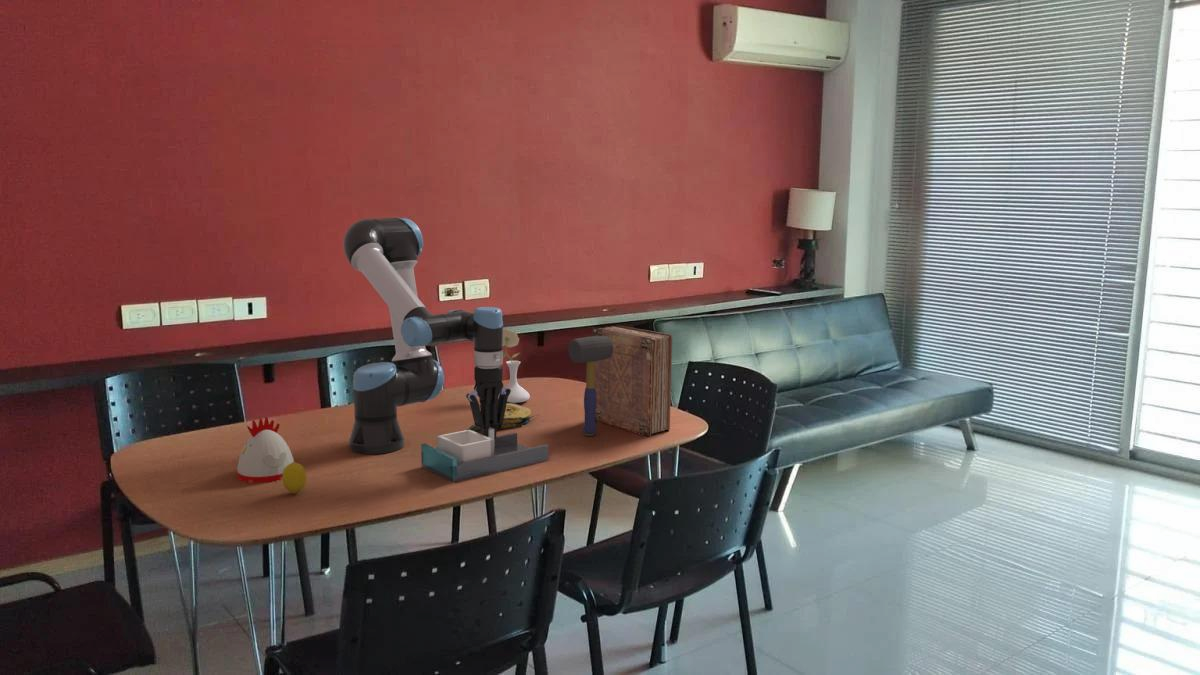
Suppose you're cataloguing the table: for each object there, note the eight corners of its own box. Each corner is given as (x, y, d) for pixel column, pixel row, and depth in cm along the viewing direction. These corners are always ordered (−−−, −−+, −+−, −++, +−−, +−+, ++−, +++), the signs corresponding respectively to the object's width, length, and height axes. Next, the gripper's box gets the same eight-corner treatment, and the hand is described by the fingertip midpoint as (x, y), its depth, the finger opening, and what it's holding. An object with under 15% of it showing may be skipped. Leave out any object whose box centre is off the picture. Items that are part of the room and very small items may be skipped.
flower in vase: (536, 400, 311) (536, 329, 307) (516, 407, 302) (516, 333, 297) (506, 395, 318) (506, 325, 313) (486, 401, 308) (485, 329, 304)
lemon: (310, 489, 220) (308, 458, 219) (303, 497, 215) (301, 465, 214) (287, 489, 220) (285, 458, 219) (280, 497, 215) (278, 465, 213)
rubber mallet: (579, 441, 264) (580, 340, 258) (565, 435, 270) (566, 336, 264) (613, 435, 271) (615, 336, 265) (599, 429, 277) (601, 332, 271)
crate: (461, 472, 230) (460, 446, 229) (437, 461, 239) (437, 435, 238) (494, 465, 237) (493, 439, 236) (469, 454, 246) (469, 429, 245)
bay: (452, 482, 227) (452, 459, 226) (421, 466, 239) (421, 444, 238) (548, 460, 246) (548, 438, 245) (514, 446, 258) (514, 425, 257)
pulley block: (450, 414, 268) (508, 394, 294) (448, 432, 269) (505, 410, 295) (489, 428, 261) (544, 406, 287) (487, 446, 263) (541, 423, 289)
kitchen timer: (228, 473, 232) (225, 417, 229) (280, 462, 241) (277, 408, 239) (252, 487, 222) (248, 428, 219) (304, 474, 232) (301, 418, 229)
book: (670, 431, 275) (673, 334, 270) (649, 437, 269) (652, 338, 264) (612, 415, 293) (613, 324, 288) (591, 420, 287) (592, 327, 282)
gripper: (475, 371, 232) (476, 459, 236) (516, 365, 240) (517, 450, 244) (459, 366, 237) (461, 452, 241) (500, 360, 245) (501, 443, 250)
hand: (489, 451), depth 243 cm, fingers closed
